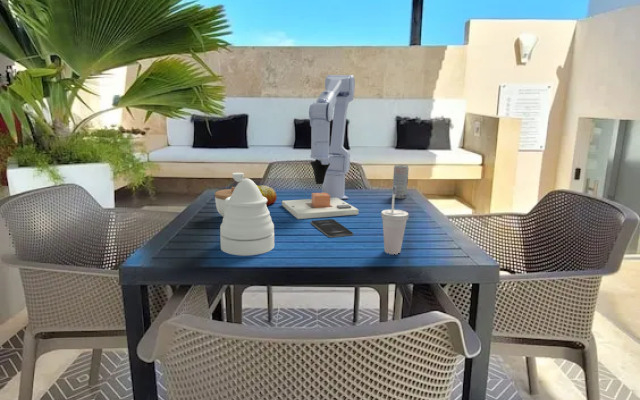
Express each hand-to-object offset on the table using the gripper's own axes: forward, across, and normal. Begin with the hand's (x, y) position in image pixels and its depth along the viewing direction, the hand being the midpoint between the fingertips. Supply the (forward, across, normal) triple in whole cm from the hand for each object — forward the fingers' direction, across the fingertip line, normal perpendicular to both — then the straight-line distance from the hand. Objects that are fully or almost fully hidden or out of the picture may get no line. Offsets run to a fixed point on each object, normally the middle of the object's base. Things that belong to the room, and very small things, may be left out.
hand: (319, 183), depth 139 cm
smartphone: (+9, -21, +2) cm, 23 cm away
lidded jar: (+9, -5, +28) cm, 29 cm away
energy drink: (+9, +14, -34) cm, 38 cm away
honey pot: (+9, -32, +25) cm, 42 cm away
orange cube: (+9, 0, 0) cm, 9 cm away
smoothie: (+9, -42, -8) cm, 44 cm away
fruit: (+9, +12, +18) cm, 23 cm away
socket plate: (+9, 0, 0) cm, 9 cm away
